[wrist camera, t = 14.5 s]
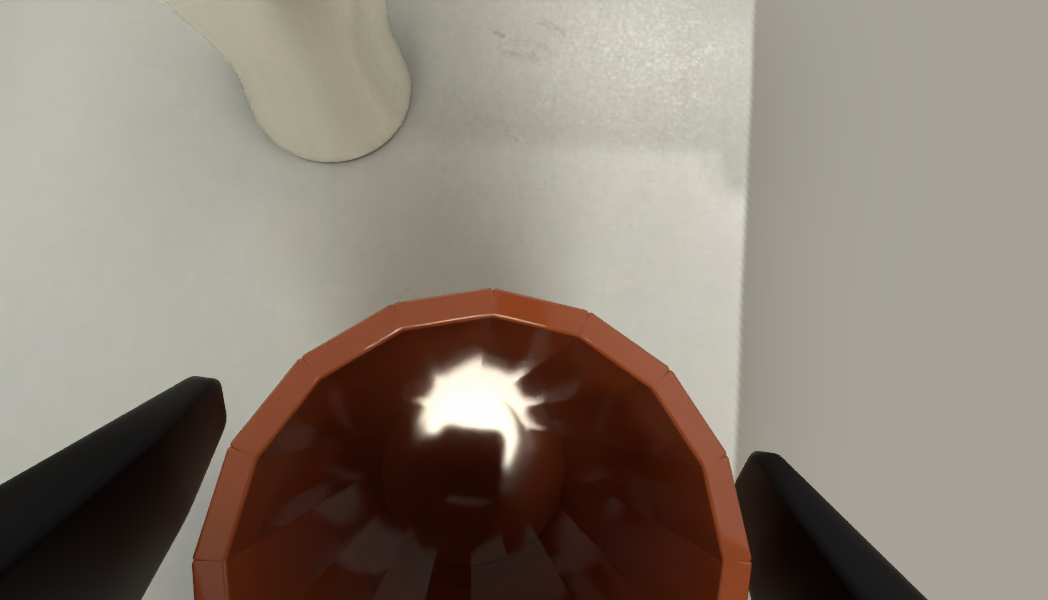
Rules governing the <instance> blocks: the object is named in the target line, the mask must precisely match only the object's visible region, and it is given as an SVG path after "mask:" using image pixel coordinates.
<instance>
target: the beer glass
mask: <svg viewBox="0 0 1048 600" xmlns="http://www.w3.org/2000/svg"><path fill="white" fill-rule="evenodd" d="M162 1H163V2H164V3H165V4H166V5H167V6H168V7H170V8H171V9H172V10H173V11H174V12H175V13H176V14H177V15H178V16H179V17H180V18H181V19H183V20H184V21H185V22H186V23H187V24H188V25H189V26H190V27H191V28H193V29H194V30H195V31H196V32H197V33H198V34H199V35H200V36H201V37H203V38H204V39H205V40H206V41H207V42H208V43H209V44H210V45H211V46H213V47H214V48H215V49H216V50H217V51H218V52H219V53H220V54H221V55H222V56H223V57H224V58H225V59H226V60H227V61H228V62H229V64H230V65H231V66H232V67H233V69H234V70H235V71H236V73H237V75H238V76H239V78H240V80H241V83H242V86H243V89H244V92H245V95H246V98H247V101H248V104H249V106H250V109H251V111H252V113H253V116H254V118H255V119H256V121H257V123H258V124H259V126H260V127H261V129H262V130H263V132H264V133H265V134H266V135H267V136H268V137H269V138H270V139H271V140H272V141H273V142H274V143H276V144H277V145H278V146H280V147H281V148H283V149H284V150H286V151H288V152H290V153H291V154H294V155H296V156H298V157H301V158H304V159H308V160H312V161H318V162H342V161H348V160H353V159H356V158H359V157H362V156H365V155H367V154H369V153H371V152H373V151H374V150H376V149H378V148H379V147H381V146H382V145H383V144H385V143H386V142H387V141H388V140H389V139H390V138H391V137H392V136H393V135H394V134H395V133H396V131H397V130H398V129H399V127H400V126H401V124H402V122H403V120H404V118H405V116H406V114H407V111H408V107H409V103H410V97H411V81H410V75H409V71H408V68H407V65H406V62H405V60H404V57H403V55H402V53H401V51H400V49H399V47H398V45H397V43H396V41H395V39H394V37H393V35H392V33H391V31H390V28H389V25H388V21H387V13H386V0H162Z"/></svg>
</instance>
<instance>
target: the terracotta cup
mask: <svg viewBox="0 0 1048 600" xmlns="http://www.w3.org/2000/svg"><path fill="white" fill-rule="evenodd" d="M230 446H231V447H229V448H228V450H227V453H226V456H225V459H224V462H223V465H222V468H221V471H220V474H219V478H218V481H217V484H216V487H215V490H214V493H213V496H212V499H211V502H210V506H209V509H208V512H207V515H206V518H205V521H204V524H203V527H202V530H201V534H200V537H199V540H198V543H197V546H196V549H195V552H194V555H193V559H194V561H193V563H192V571H193V586H194V600H747V599H748V591H749V583H750V575H751V568H752V564H751V562H750V560H751V554H750V549H749V545H748V541H747V536H746V532H745V528H744V523H743V519H742V515H741V510H740V506H739V502H738V497H737V493H736V488H735V484H734V480H733V475H732V471H731V467H730V462H729V458H728V457H727V456H726V451H725V450H724V448H723V447H722V445H721V444H720V442H719V441H718V439H717V438H716V436H715V435H714V433H713V432H712V430H711V429H710V427H709V426H708V424H707V423H706V421H705V420H704V418H703V417H702V415H701V414H700V412H699V411H698V409H697V408H696V406H695V405H694V403H693V402H692V400H691V398H690V397H689V395H688V394H687V392H686V391H685V389H684V388H683V386H682V385H681V383H680V382H679V380H678V379H677V377H676V376H675V374H674V373H673V371H671V370H669V368H668V366H667V365H665V364H664V363H662V362H661V361H659V360H658V359H657V358H655V357H654V356H652V355H651V354H650V353H648V352H647V351H645V350H644V349H643V348H641V347H640V346H638V345H637V344H635V343H634V342H633V341H631V340H630V339H628V338H627V337H626V336H624V335H623V334H621V333H620V332H618V331H617V330H616V329H614V328H613V327H611V326H610V325H609V324H607V323H606V322H604V321H603V320H601V319H600V318H599V317H597V316H596V315H594V314H593V313H590V312H589V313H588V311H586V310H584V309H579V308H575V307H571V306H567V305H563V304H558V303H554V302H550V301H546V300H542V299H537V298H533V297H529V296H525V295H521V294H516V293H512V292H508V291H504V290H500V289H494V290H492V289H490V288H489V289H483V290H476V291H469V292H463V293H456V294H449V295H443V296H436V297H430V298H423V299H416V300H410V301H403V302H397V303H395V304H394V305H389V306H387V307H385V308H383V309H382V310H380V311H378V312H377V313H375V314H373V315H371V316H370V317H368V318H366V319H364V320H363V321H361V322H359V323H358V324H356V325H354V326H352V327H351V328H349V329H347V330H346V331H344V332H342V333H340V334H339V335H337V336H335V337H333V338H332V339H330V340H328V341H327V342H325V343H323V344H321V345H320V346H318V347H316V348H315V349H313V350H311V351H309V352H308V353H306V354H304V355H303V356H302V359H301V358H300V359H298V360H297V361H296V363H295V364H294V365H293V366H292V368H291V369H290V370H289V371H288V373H287V374H286V375H285V376H284V378H283V379H282V380H281V381H280V383H279V384H278V385H277V386H276V388H275V389H274V390H273V391H272V392H271V394H270V395H269V396H268V397H267V399H266V400H265V401H264V402H263V404H262V405H261V406H260V407H259V409H258V410H257V411H256V412H255V414H254V415H253V416H252V417H251V419H250V420H249V421H248V422H247V424H246V425H245V426H244V427H243V429H242V430H241V431H240V432H239V434H238V435H237V436H236V437H235V439H234V440H233V441H232V442H231V445H230Z"/></svg>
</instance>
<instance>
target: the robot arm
mask: <svg viewBox="0 0 1048 600" xmlns="http://www.w3.org/2000/svg"><path fill="white" fill-rule="evenodd" d="M225 424H226V409H225V404H224V398H223V392H222V387H221V383H220V382H219V381H218V380H217V379H214V378H206V377H198V376H192V377H189V378H187V379H185V380H183V381H182V382H180V383H178V384H176V385H175V386H173V387H171V388H169V389H168V390H166V391H164V392H162V393H161V394H159V395H157V396H155V397H154V398H152V399H150V400H148V401H147V402H145V403H143V404H141V405H140V406H138V407H136V408H134V409H133V410H131V411H129V412H127V413H126V414H124V415H122V416H120V417H118V418H117V419H115V420H113V421H111V422H110V423H108V424H106V425H104V426H103V427H101V428H99V429H97V430H96V431H94V432H92V433H90V434H89V435H87V436H85V437H83V438H82V439H80V440H78V441H76V442H75V443H73V444H71V445H69V446H68V447H66V448H64V449H62V450H61V451H59V452H57V453H55V454H54V455H52V456H50V457H48V458H47V459H45V460H43V461H41V462H40V463H38V464H36V465H34V466H33V467H31V468H29V469H27V470H26V471H24V472H22V473H20V474H19V475H17V476H15V477H13V478H12V479H10V480H8V481H6V482H5V483H3V484H1V485H0V600H141V599H142V597H143V595H144V593H145V592H146V590H147V588H148V586H149V584H150V583H151V581H152V579H153V577H154V576H155V574H156V572H157V570H158V568H159V567H160V565H161V563H162V561H163V559H164V558H165V556H166V554H167V552H168V550H169V549H170V547H171V545H172V543H173V541H174V540H175V538H176V536H177V534H178V532H179V531H180V529H181V527H182V525H183V523H184V521H185V519H186V517H187V515H188V513H189V511H190V509H191V507H192V504H193V502H194V500H195V498H196V495H197V493H198V490H199V488H200V486H201V483H202V481H203V478H204V476H205V474H206V471H207V469H208V467H209V464H210V462H211V459H212V457H213V455H214V452H215V450H216V447H217V445H218V443H219V440H220V438H221V435H222V433H223V431H224V428H225ZM735 488H736V493H737V497H738V502H739V506H740V510H741V515H742V519H743V523H744V528H745V532H746V536H747V541H748V545H749V549H750V554H751V560H750V562H751V564H752V568H751V575H750V583H749V592H750V597H751V600H927V599H926V598H925V597H924V596H923V595H922V594H921V593H920V592H919V591H918V590H917V589H916V588H915V587H914V586H913V585H912V584H911V583H910V582H909V581H908V580H907V579H906V578H905V577H904V576H903V575H902V574H901V573H900V572H899V571H897V569H895V567H894V566H893V565H891V563H889V562H888V561H887V560H886V559H885V558H884V557H883V556H882V555H881V554H880V553H879V552H878V551H877V550H876V549H875V548H874V547H873V546H872V545H871V544H870V543H869V542H868V541H867V540H866V539H865V538H864V537H863V536H862V535H861V534H860V533H859V532H858V531H857V530H856V529H855V528H854V527H853V526H852V525H851V524H850V523H849V522H848V521H846V520H845V518H843V517H842V516H841V515H840V514H839V513H838V512H837V511H836V510H835V509H834V508H833V507H832V506H831V505H830V504H829V503H828V502H827V501H826V500H825V499H824V498H823V497H822V496H821V495H820V494H819V493H818V492H817V491H816V490H815V489H814V488H813V487H812V486H811V485H810V484H809V483H808V482H807V481H806V480H805V479H804V478H803V477H802V476H800V475H799V474H798V473H797V472H796V471H795V470H794V469H793V468H792V467H791V466H790V465H789V464H788V463H787V462H786V461H785V460H784V459H783V458H782V457H781V456H780V455H778V454H775V453H769V452H761V451H755V452H753V453H752V454H751V455H750V456H749V458H748V460H747V462H746V463H745V465H744V467H743V469H742V471H741V472H740V474H739V476H738V478H737V480H736V482H735Z"/></svg>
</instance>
